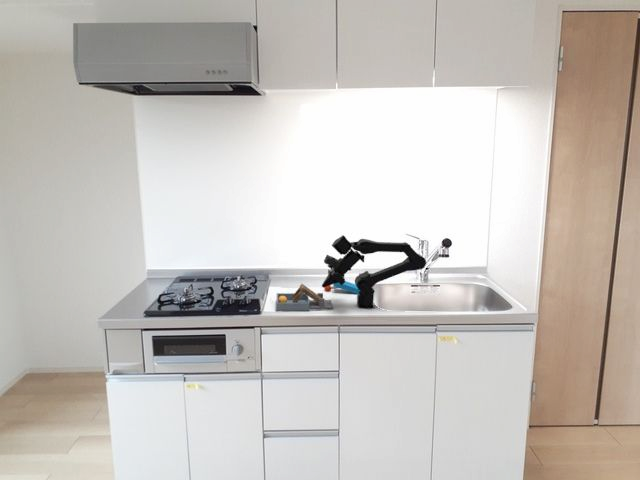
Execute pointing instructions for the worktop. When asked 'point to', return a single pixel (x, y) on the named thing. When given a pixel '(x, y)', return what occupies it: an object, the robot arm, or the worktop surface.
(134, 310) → the worktop surface
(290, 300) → the bin
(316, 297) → the brown wooden angled piece
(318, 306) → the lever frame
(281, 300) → the ball
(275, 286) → the worktop surface
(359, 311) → the worktop surface
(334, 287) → the lever
